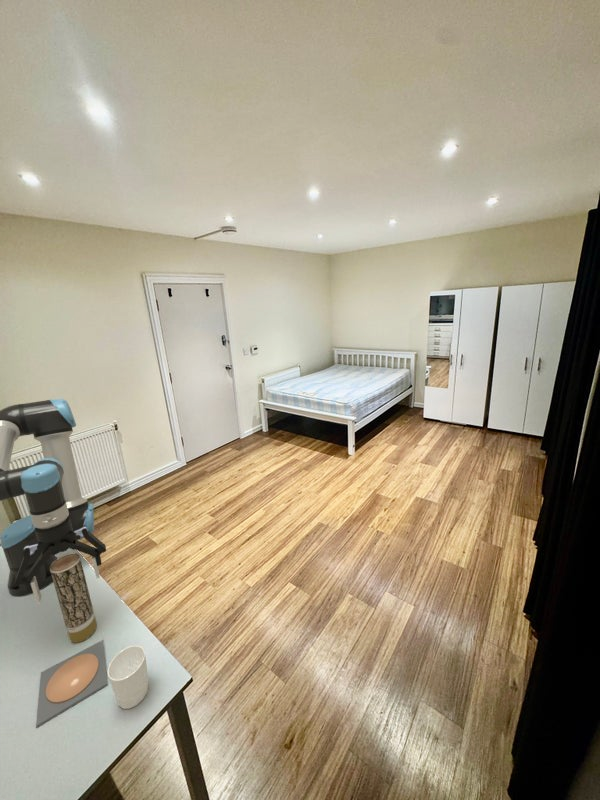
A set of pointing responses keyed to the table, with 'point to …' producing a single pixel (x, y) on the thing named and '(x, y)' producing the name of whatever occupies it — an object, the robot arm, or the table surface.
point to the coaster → (71, 682)
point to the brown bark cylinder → (73, 597)
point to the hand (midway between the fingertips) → (69, 587)
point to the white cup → (129, 676)
